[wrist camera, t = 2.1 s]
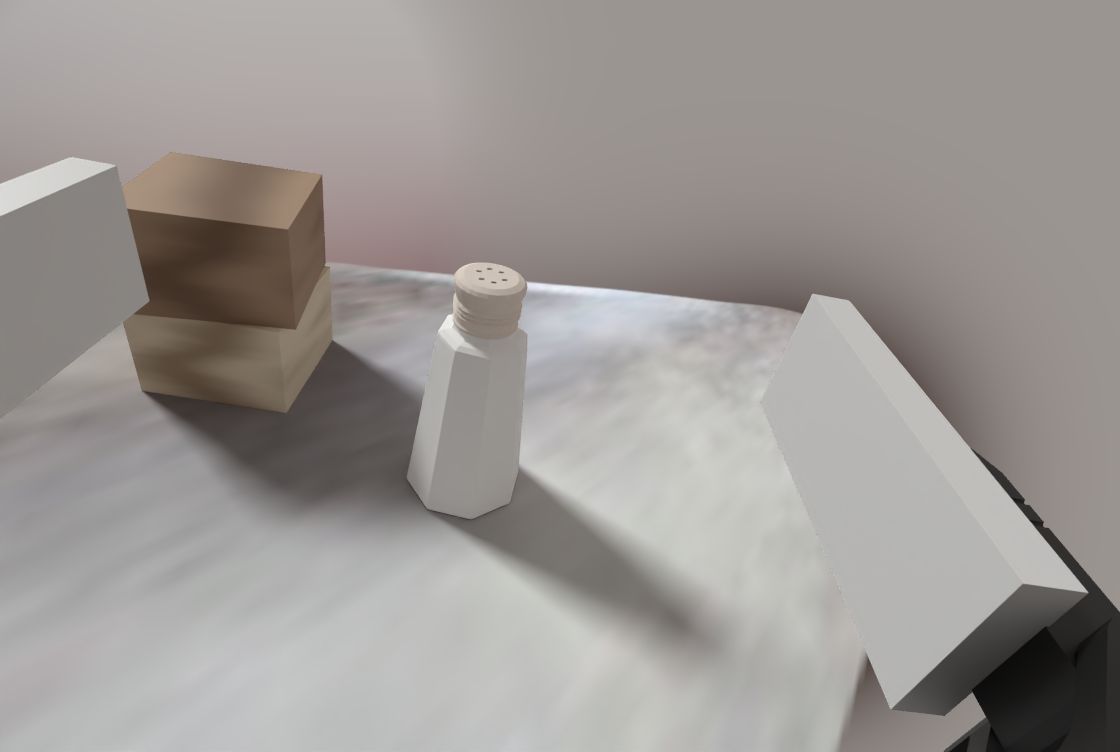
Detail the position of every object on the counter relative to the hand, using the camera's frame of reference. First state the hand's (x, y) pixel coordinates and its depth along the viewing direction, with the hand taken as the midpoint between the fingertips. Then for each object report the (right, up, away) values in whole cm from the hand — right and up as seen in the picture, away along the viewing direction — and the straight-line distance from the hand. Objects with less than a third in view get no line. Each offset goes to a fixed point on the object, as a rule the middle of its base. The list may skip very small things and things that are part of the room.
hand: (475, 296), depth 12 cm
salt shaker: (-3, -7, +17) cm, 19 cm away
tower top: (-15, +3, +18) cm, 23 cm away
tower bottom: (-16, -1, +21) cm, 26 cm away
